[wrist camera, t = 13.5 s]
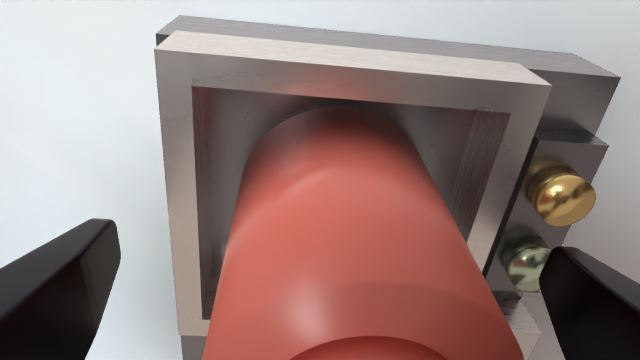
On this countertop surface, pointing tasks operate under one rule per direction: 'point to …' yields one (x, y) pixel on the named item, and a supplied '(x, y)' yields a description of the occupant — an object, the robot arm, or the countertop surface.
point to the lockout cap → (348, 254)
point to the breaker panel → (404, 112)
